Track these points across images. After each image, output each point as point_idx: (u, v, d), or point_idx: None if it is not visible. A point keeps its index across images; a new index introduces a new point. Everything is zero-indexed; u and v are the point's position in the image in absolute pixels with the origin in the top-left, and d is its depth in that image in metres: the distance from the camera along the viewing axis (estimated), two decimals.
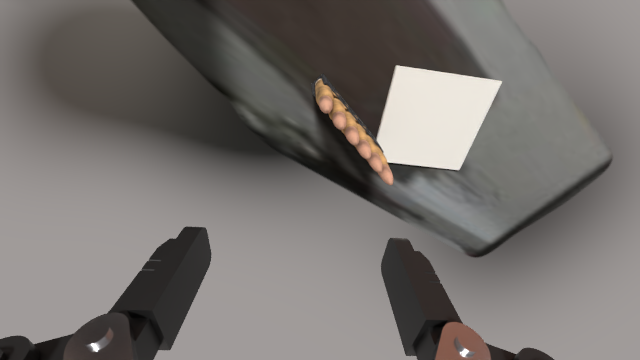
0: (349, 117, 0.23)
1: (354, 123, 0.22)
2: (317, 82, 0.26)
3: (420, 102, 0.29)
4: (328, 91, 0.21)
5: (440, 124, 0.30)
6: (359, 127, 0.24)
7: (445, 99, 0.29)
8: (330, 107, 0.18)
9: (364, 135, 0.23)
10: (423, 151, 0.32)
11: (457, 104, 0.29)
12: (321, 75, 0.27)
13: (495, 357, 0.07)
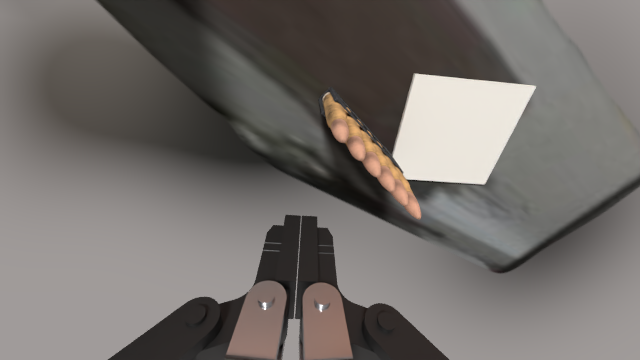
0: (365, 139, 0.20)
1: (372, 147, 0.19)
2: (325, 97, 0.23)
3: (442, 113, 0.26)
4: (341, 112, 0.18)
5: (464, 136, 0.27)
6: (376, 148, 0.21)
7: (470, 109, 0.25)
8: (347, 135, 0.15)
9: (384, 159, 0.20)
10: (445, 166, 0.29)
11: (484, 114, 0.26)
12: (329, 88, 0.24)
13: (354, 313, 0.07)
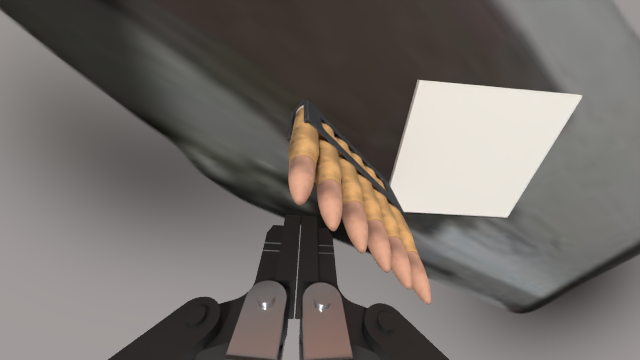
0: (348, 177, 0.14)
1: (357, 191, 0.13)
2: (297, 113, 0.17)
3: (455, 131, 0.19)
4: (308, 142, 0.12)
5: (484, 159, 0.21)
6: (366, 186, 0.15)
7: (493, 125, 0.19)
8: (307, 191, 0.09)
9: (375, 207, 0.13)
10: (457, 196, 0.23)
11: (510, 132, 0.19)
12: (304, 101, 0.18)
13: (354, 313, 0.07)
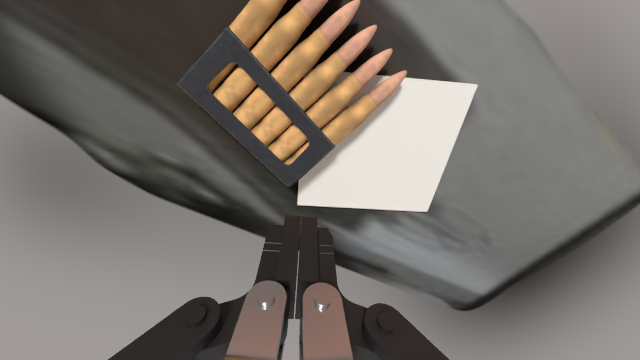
0: None
1: None
2: None
3: None
4: None
5: (389, 152, 0.20)
6: None
7: (391, 116, 0.19)
8: None
9: None
10: (370, 190, 0.22)
11: (411, 122, 0.19)
12: None
13: (354, 313, 0.07)
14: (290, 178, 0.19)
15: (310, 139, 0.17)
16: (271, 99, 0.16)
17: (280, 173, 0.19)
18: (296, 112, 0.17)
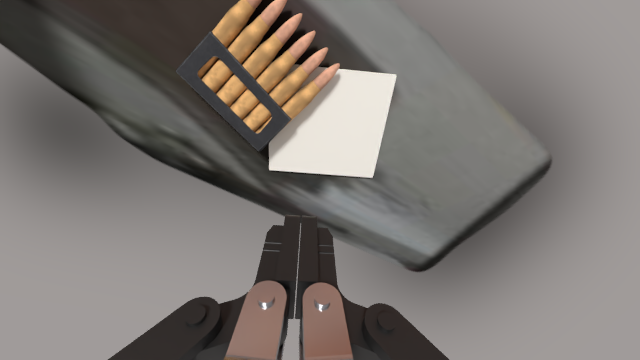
0: None
1: None
2: None
3: None
4: None
5: (337, 126, 0.26)
6: None
7: (335, 98, 0.25)
8: None
9: None
10: (325, 158, 0.28)
11: (350, 103, 0.25)
12: None
13: (354, 313, 0.07)
14: (259, 144, 0.25)
15: (273, 113, 0.24)
16: (242, 83, 0.22)
17: (251, 140, 0.25)
18: (261, 92, 0.23)
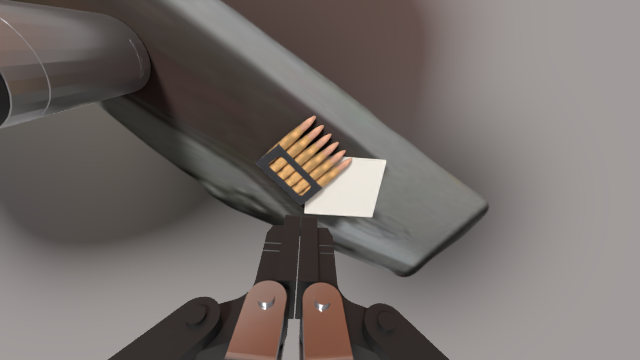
0: None
1: None
2: (265, 154, 0.38)
3: None
4: None
5: (349, 188, 0.42)
6: None
7: (348, 173, 0.40)
8: None
9: None
10: (341, 206, 0.44)
11: (358, 176, 0.41)
12: (260, 157, 0.39)
13: (354, 313, 0.07)
14: (301, 201, 0.41)
15: (311, 185, 0.39)
16: (294, 169, 0.38)
17: (297, 199, 0.40)
18: (305, 174, 0.38)
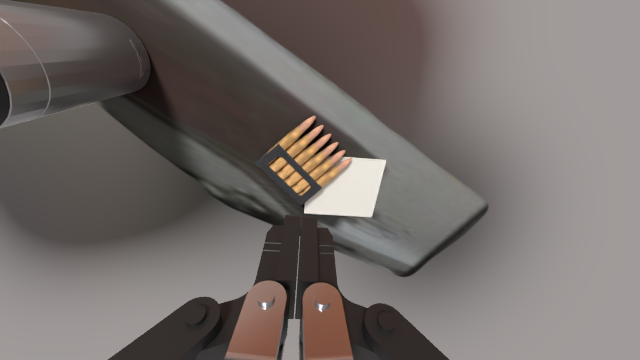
0: None
1: None
2: (264, 154, 0.38)
3: None
4: None
5: (349, 188, 0.42)
6: None
7: (348, 173, 0.40)
8: None
9: None
10: (341, 206, 0.44)
11: (358, 176, 0.41)
12: None
13: (354, 313, 0.07)
14: (301, 201, 0.41)
15: (311, 185, 0.39)
16: (294, 169, 0.38)
17: (297, 199, 0.40)
18: (305, 174, 0.38)
